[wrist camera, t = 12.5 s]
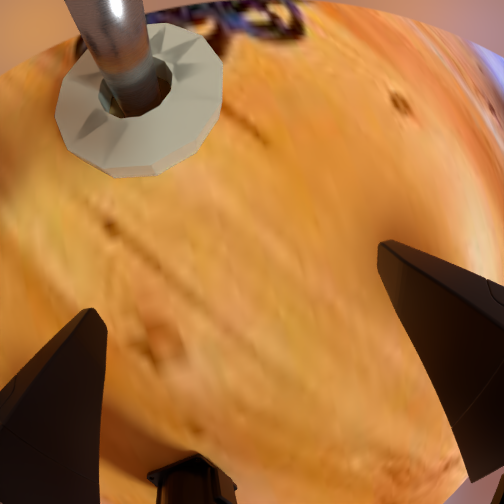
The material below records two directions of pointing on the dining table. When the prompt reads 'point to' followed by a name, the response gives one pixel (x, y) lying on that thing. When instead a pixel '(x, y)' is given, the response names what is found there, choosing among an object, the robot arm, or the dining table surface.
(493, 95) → the dining table surface
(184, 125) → the grey ring
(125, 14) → the metal peg
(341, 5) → the dining table surface
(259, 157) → the dining table surface
